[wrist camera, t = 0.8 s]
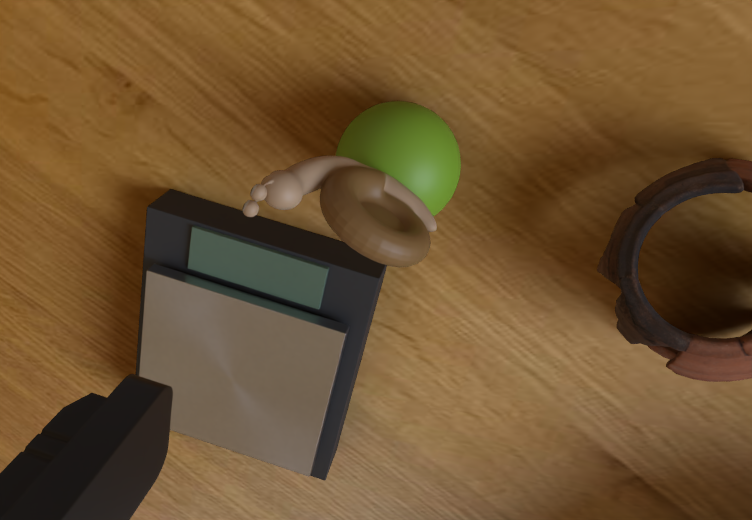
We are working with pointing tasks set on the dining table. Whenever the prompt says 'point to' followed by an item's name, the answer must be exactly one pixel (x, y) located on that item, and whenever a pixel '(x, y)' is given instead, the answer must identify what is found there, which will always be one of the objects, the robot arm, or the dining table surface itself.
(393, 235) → the snail figurine
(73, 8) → the dining table surface
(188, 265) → the scale
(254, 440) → the scale platter
